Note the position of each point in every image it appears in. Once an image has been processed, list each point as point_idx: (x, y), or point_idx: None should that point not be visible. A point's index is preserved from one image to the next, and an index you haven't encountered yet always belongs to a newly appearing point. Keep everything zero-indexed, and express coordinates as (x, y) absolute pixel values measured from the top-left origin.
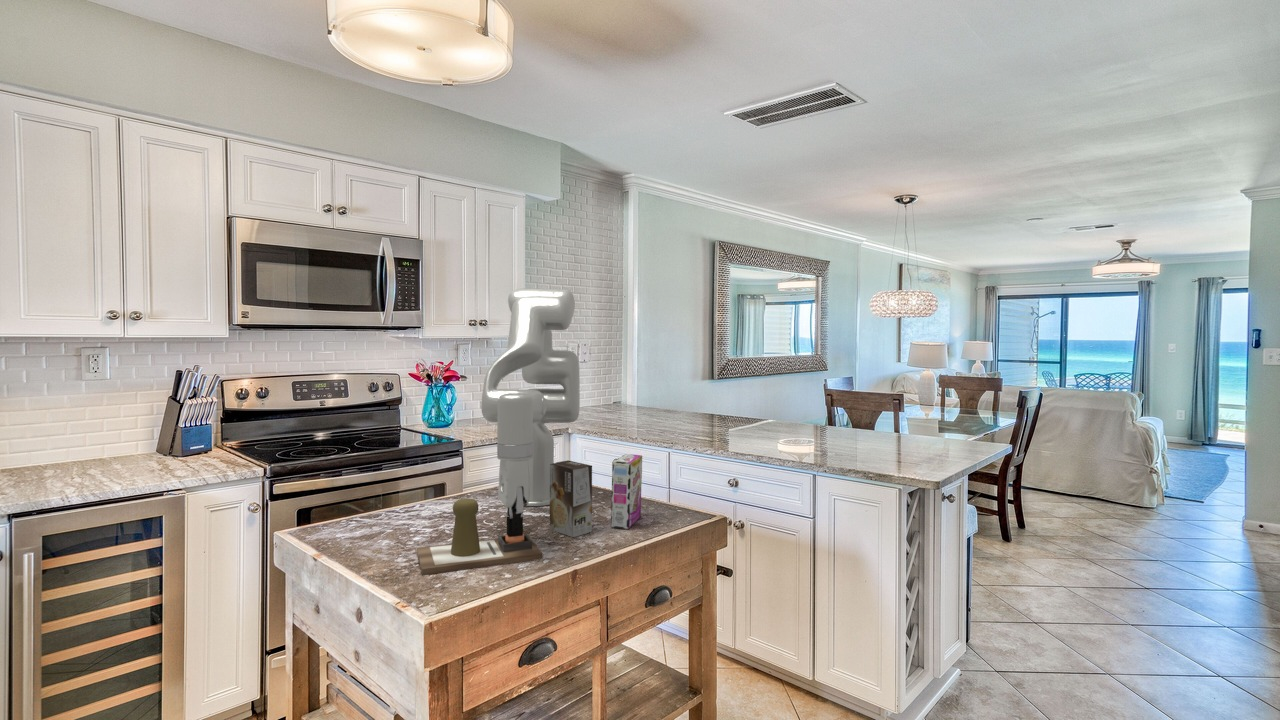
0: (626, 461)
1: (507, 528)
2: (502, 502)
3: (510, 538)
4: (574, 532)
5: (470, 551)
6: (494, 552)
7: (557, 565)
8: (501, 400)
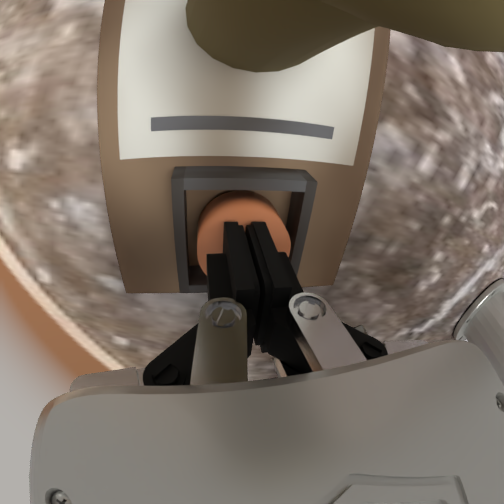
0: None
1: (258, 242)
2: (273, 394)
3: (208, 225)
4: (276, 370)
5: (188, 13)
6: (175, 125)
7: (76, 298)
8: None
